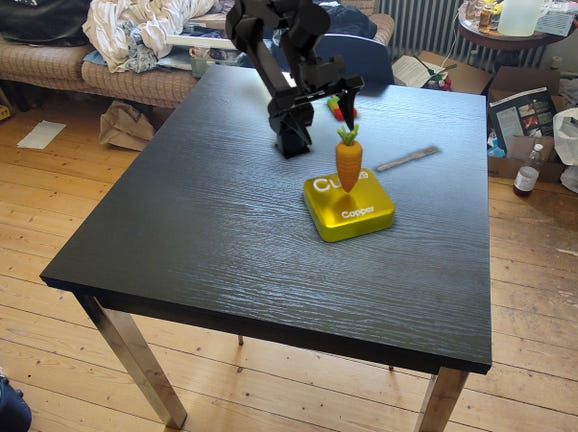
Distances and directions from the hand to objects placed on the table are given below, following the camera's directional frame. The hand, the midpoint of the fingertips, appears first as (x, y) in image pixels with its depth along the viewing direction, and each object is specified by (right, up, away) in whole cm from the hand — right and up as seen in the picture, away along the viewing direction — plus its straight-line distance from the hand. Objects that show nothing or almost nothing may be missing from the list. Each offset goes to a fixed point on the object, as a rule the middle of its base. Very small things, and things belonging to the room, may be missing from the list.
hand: (332, 138), depth 84 cm
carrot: (+3, -10, +2) cm, 11 cm away
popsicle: (+1, +15, +36) cm, 39 cm away
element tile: (+3, -14, +5) cm, 15 cm away
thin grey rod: (+17, -2, +18) cm, 25 cm away
